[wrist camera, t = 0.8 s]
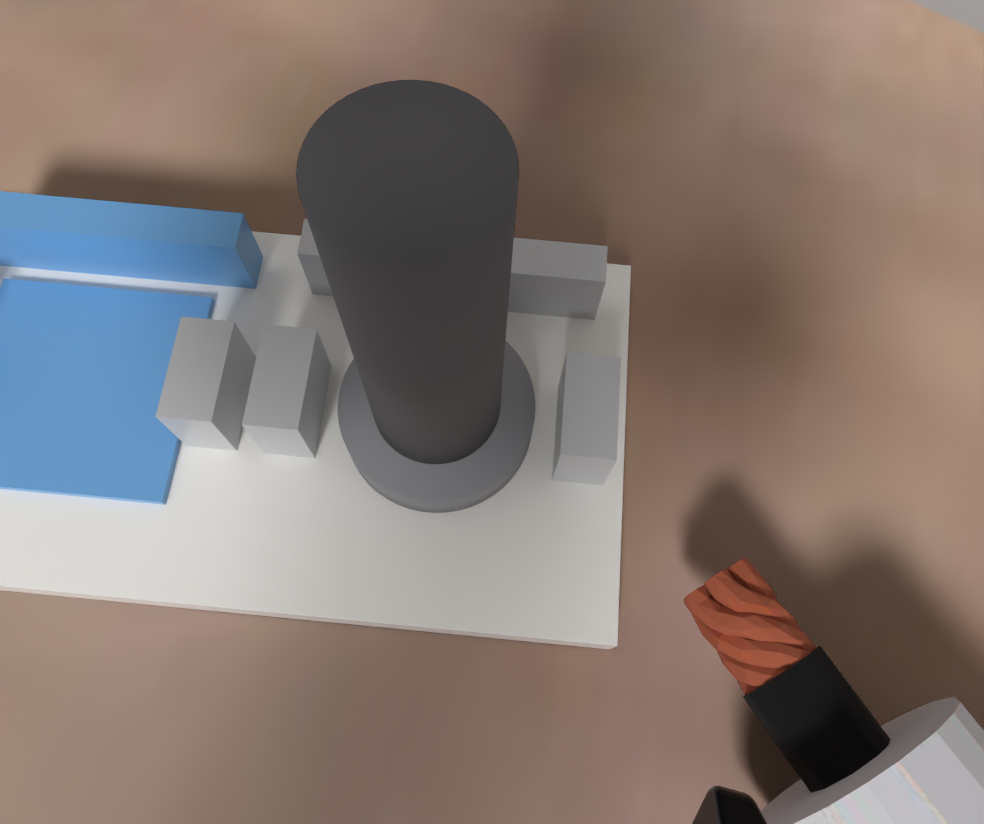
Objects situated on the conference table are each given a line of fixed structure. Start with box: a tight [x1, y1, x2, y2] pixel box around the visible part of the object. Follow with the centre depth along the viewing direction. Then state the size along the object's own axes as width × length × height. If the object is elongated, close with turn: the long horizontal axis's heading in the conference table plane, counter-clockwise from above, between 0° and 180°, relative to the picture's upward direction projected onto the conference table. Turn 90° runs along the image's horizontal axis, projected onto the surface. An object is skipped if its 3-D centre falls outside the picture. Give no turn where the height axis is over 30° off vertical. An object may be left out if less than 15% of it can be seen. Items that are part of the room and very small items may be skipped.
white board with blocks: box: [0, 191, 631, 649], centre depth 24 cm, size 22×12×4 cm, turn 85°
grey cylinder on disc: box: [296, 80, 536, 513], centre depth 19 cm, size 6×6×12 cm
